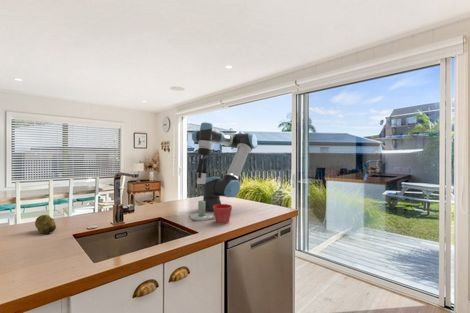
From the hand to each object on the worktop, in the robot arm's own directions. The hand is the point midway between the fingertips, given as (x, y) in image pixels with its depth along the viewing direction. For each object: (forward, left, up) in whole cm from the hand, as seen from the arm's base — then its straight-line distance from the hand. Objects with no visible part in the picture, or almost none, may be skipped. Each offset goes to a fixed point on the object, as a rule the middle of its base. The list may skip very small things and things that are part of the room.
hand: (201, 183), depth 148 cm
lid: (-7, +2, -22) cm, 23 cm away
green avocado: (-9, -79, -23) cm, 82 cm away
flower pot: (+6, +11, -23) cm, 26 cm away
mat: (-7, +2, -22) cm, 23 cm away
